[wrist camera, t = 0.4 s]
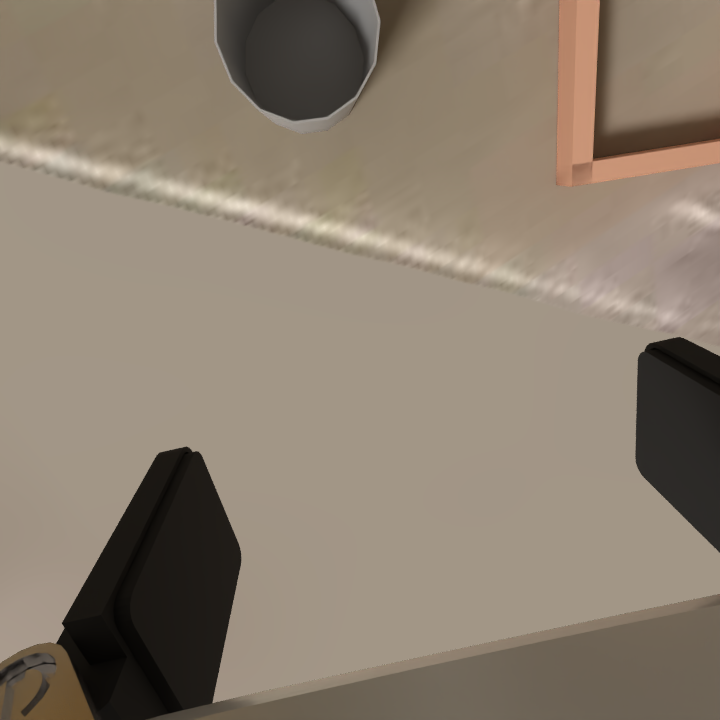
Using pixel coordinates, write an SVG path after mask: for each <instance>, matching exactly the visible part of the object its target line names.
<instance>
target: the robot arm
mask: <svg viewBox="0 0 720 720" xmlns="http://www.w3.org/2000/svg"><path fill="white" fill-rule="evenodd" d="M636 464H637V467H638V469H639V471H640V473H641V474H642V476H643V477H644V478H645V479H646V480H647V481H648V482H649V483H650V484H651V485H652V486H653V487H654V488H655V489H656V490H657V491H658V492H659V493H660V494H661V495H662V496H663V497H664V498H665V499H666V500H667V501H668V502H669V503H670V504H671V505H672V506H673V507H674V508H675V509H676V510H678V512H679V513H680V514H682V516H683V517H684V518H685V519H686V520H687V521H688V522H689V523H691V524H692V526H693V527H694V528H695V529H696V530H697V531H699V533H701V534H702V535H703V536H704V537H705V538H706V539H707V540H708V541H709V542H710V543H711V544H712V545H713V546H714V547H715V548H716V549H717V550H718V551H719V552H720V356H718V355H716V354H714V353H712V352H710V351H708V350H706V349H704V348H702V347H700V346H698V345H696V344H694V343H692V342H690V341H688V340H686V339H684V338H681V337H677V338H672V339H668V340H663V341H659V342H654V343H650V344H649V345H647V347H646V349H645V352H642V353H641V354H640V355H639V357H638V377H637V418H636ZM240 566H241V551H240V547H239V544H238V541H237V539H236V537H235V534H234V532H233V530H232V527H231V525H230V522H229V520H228V517H227V515H226V513H225V510H224V508H223V505H222V503H221V501H220V498H219V496H218V493H217V491H216V489H215V486H214V484H213V481H212V479H211V477H210V474H209V472H208V469H207V467H206V465H205V462H204V460H203V457H202V455H201V454H200V453H199V452H197V451H196V452H192V451H191V449H190V448H188V447H183V448H178V449H174V450H169V451H165V452H161V453H159V454H158V455H157V456H156V458H155V460H154V461H153V463H152V465H151V467H150V468H149V470H148V472H147V474H146V476H145V478H144V479H143V481H142V483H141V484H140V486H139V488H138V490H137V492H136V493H135V495H134V497H133V499H132V500H131V502H130V504H129V506H128V507H127V509H126V511H125V513H124V514H123V516H122V518H121V520H120V521H119V523H118V525H117V527H116V529H115V531H114V532H113V534H112V536H111V537H110V539H109V541H108V543H107V545H106V546H105V548H104V550H103V552H102V553H101V555H100V557H99V559H98V560H97V562H96V564H95V566H94V567H93V569H92V571H91V573H90V575H89V576H88V578H87V580H86V582H85V583H84V585H83V587H82V589H81V591H80V592H79V594H78V596H77V597H76V599H75V601H74V603H73V605H72V606H71V608H70V610H69V612H68V614H67V615H66V617H65V619H64V620H63V622H62V624H63V626H64V627H65V629H64V630H63V632H62V634H61V636H60V638H59V640H58V641H57V643H56V644H54V643H44V644H37V645H34V646H32V647H29V648H26V649H24V650H21V651H19V652H18V653H16V654H14V655H13V656H11V657H10V658H8V659H6V660H4V661H3V662H2V663H0V720H720V594H717V595H712V596H708V597H703V598H698V599H693V600H688V601H683V602H678V603H674V604H669V605H664V606H660V607H654V608H649V609H645V610H640V611H635V612H631V613H625V614H620V615H616V616H611V617H607V618H601V619H597V620H592V621H587V622H583V623H578V624H573V625H568V626H564V627H559V628H554V629H550V630H545V631H540V632H535V633H531V634H526V635H521V636H517V637H512V638H507V639H503V640H498V641H493V642H489V643H484V644H479V645H474V646H470V647H465V648H460V649H456V650H451V651H446V652H442V653H437V654H432V655H427V656H423V657H418V658H413V659H409V660H404V661H400V662H395V663H391V664H386V665H382V666H377V667H372V668H368V669H363V670H359V671H354V672H349V673H345V674H340V675H336V676H331V677H326V678H322V679H317V680H313V681H309V682H303V683H299V684H295V685H290V686H285V687H281V688H276V689H272V690H267V691H262V692H258V693H254V694H250V695H246V696H241V697H238V698H233V699H229V700H225V701H220V702H216V703H212V702H213V696H214V692H215V687H216V682H217V677H218V673H219V668H220V663H221V658H222V653H223V648H224V643H225V639H226V634H227V629H228V624H229V619H230V614H231V609H232V605H233V600H234V595H235V590H236V585H237V580H238V575H239V570H240Z"/></svg>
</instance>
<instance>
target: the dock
mask: <svg viewBox="0 0 720 720" xmlns="http://www.w3.org/2000/svg"><path fill="white" fill-rule="evenodd" d="M599 6H600V0H559V60H558V120H557V180H556V185H561V186H571V187H572V186H578V185H584V184H591V183H597V182H603V181H609V180H616V179H622V178H628V177H634V176H641V175H647V174H653V173H659V172H666V171H672V170H678V169H684V168H691V167H697V166H703V165H709V164H716V163H720V139H714V140H707V141H701V142H695V143H689V144H682V145H676V146H670V147H664V148H657V149H651V150H645V151H639V152H632V153H626V154H620V155H614V156H607V157H601V158H595V159H593V141H594V119H595V96H596V73H597V51H598V28H599Z"/></svg>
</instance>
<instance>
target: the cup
mask: <svg viewBox="0 0 720 720" xmlns="http://www.w3.org/2000/svg"><path fill="white" fill-rule="evenodd" d="M379 30H380V17H379V14H378V10H377V7H376V3H375V0H214V42H215V45H216V47H217V50H218V52H219V54H220V57H221V59H222V62H223V64H224V67H225V69H226V72H227V74H228V77H229V79H230V81H231V83H232V84H233V85H234V86H235V87H236V88H237V89H238V90H239V91H240V92H241V93H242V94H243V95H244V96H245V97H246V98H247V99H248V100H249V101H250V102H251V103H252V104H253V105H254V106H255V107H256V108H257V109H258V110H259V111H260V112H261V113H262V114H264V115H265V116H266V117H268V118H269V119H270V120H271V121H273V122H274V123H275V124H277V125H279V126H282V127H285V128H288V129H290V130H293V131H296V132H298V133H301V134H304V133H311V132H319V131H327V130H328V129H330V128H331V127H333V126H334V125H335V124H337V123H338V122H340V121H341V120H342V119H344V118H345V117H347V116H348V115H349V113H350V112H351V110H352V108H353V106H354V104H355V102H356V100H357V99H358V97H359V95H360V93H361V91H362V89H363V88H364V86H365V84H366V82H367V80H368V78H369V76H370V74H371V72H372V71H373V69H374V67H375V65H376V60H377V50H378V40H379Z"/></svg>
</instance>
